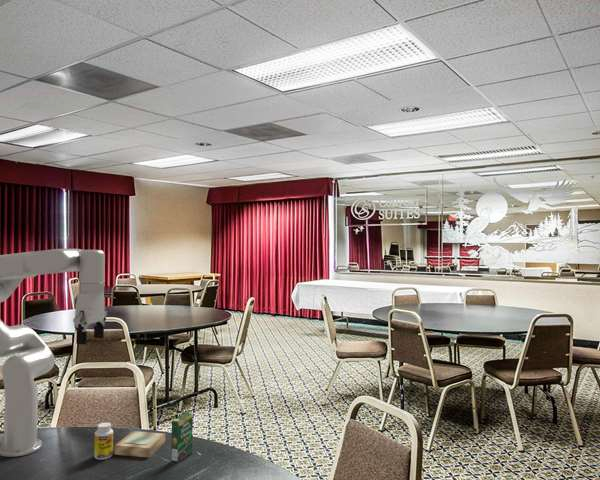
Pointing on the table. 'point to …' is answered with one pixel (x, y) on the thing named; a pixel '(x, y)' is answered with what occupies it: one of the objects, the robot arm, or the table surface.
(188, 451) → the coffee box
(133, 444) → the base
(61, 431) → the table surface
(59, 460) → the table surface
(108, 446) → the supplement bottle
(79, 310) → the robot arm
